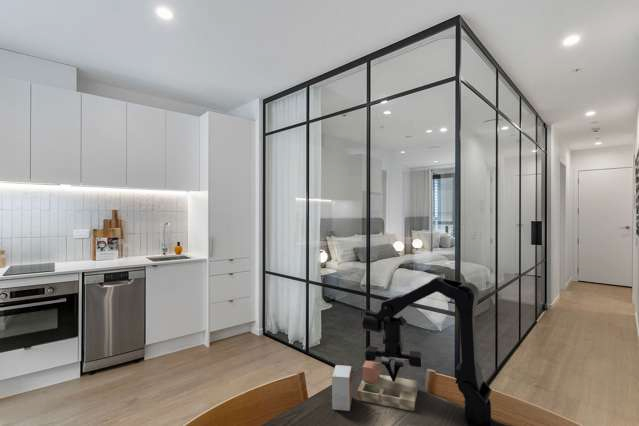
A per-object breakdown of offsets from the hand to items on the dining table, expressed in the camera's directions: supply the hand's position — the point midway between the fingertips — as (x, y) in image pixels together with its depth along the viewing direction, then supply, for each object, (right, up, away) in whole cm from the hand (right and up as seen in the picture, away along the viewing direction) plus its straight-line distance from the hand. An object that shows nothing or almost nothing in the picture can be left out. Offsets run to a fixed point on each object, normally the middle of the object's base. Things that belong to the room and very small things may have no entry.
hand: (393, 380), depth 110 cm
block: (-7, -1, +3) cm, 8 cm away
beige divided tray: (-2, -4, -2) cm, 5 cm away
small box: (-18, -4, -6) cm, 20 cm away
